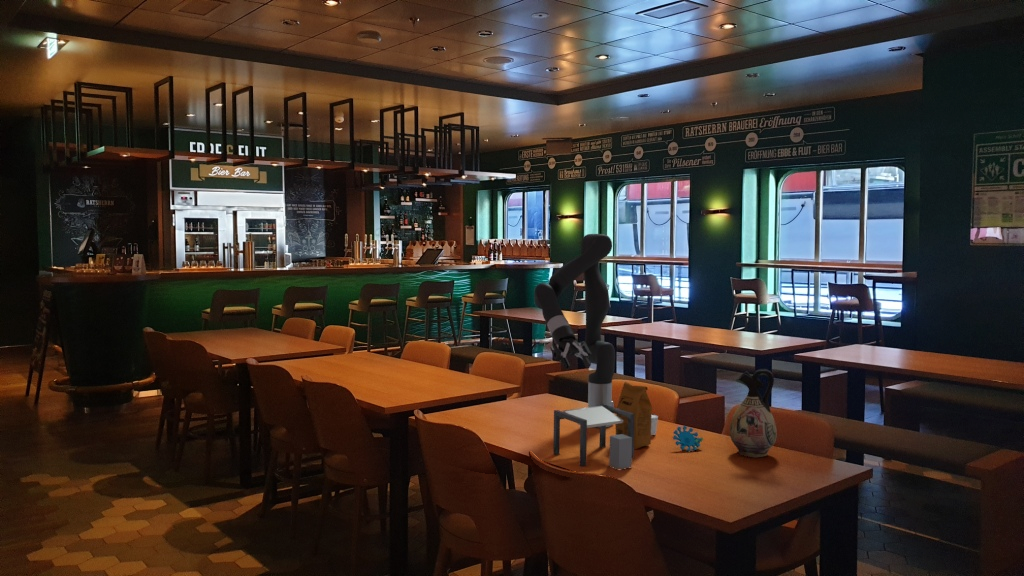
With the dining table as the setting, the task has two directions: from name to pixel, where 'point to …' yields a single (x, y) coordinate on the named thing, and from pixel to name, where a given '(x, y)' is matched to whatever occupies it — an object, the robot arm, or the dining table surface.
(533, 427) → the dining table surface
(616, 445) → the grey rectangular block
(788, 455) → the dining table surface
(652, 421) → the shot glass
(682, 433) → the blue knobbed toy
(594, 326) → the robot arm
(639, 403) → the coffee package
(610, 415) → the trapdoor
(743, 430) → the ceramic jug
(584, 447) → the frame
